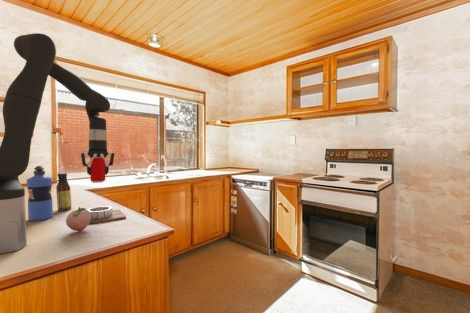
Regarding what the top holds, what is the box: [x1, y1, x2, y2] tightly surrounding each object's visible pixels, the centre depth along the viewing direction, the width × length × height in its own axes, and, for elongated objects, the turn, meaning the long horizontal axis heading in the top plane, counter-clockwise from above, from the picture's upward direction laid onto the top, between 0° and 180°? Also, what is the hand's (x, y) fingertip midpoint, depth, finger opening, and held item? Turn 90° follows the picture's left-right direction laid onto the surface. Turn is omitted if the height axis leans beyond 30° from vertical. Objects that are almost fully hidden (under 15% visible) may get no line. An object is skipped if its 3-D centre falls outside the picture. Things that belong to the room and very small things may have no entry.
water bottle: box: [26, 165, 54, 222], centre depth 113 cm, size 9×9×25 cm
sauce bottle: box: [55, 172, 72, 212], centre depth 129 cm, size 7×6×20 cm
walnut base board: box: [88, 208, 127, 226], centre depth 114 cm, size 16×20×1 cm
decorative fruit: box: [65, 206, 91, 232], centre depth 96 cm, size 9×8×10 cm
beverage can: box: [90, 157, 106, 184], centre depth 114 cm, size 6×6×12 cm
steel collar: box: [86, 205, 113, 220], centre depth 114 cm, size 10×10×4 cm
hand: (98, 174), depth 114 cm, fingers closed on beverage can, 6 cm apart
